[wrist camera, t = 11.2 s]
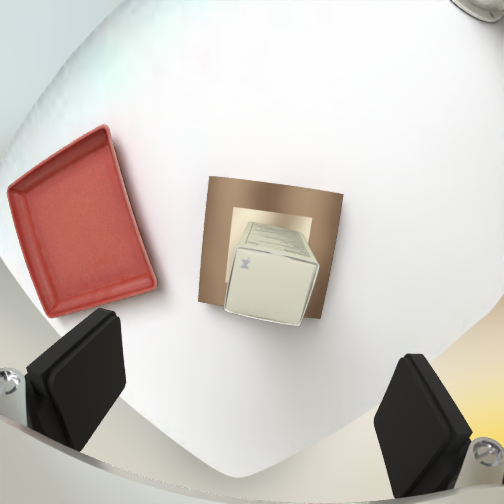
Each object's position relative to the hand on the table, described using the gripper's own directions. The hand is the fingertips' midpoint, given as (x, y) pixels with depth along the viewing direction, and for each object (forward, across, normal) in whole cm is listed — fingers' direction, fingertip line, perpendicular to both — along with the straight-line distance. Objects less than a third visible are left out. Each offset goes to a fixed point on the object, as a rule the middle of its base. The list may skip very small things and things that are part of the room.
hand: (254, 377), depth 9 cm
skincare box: (+19, 0, 0) cm, 19 cm away
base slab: (+22, 0, +1) cm, 22 cm away
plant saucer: (+23, +22, +2) cm, 32 cm away
